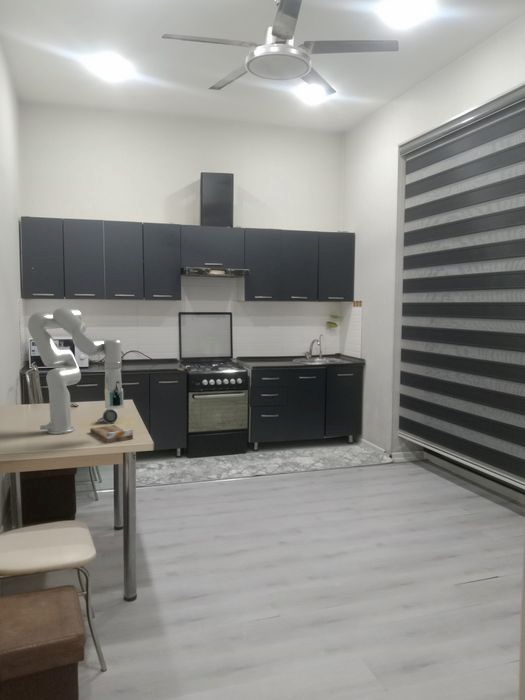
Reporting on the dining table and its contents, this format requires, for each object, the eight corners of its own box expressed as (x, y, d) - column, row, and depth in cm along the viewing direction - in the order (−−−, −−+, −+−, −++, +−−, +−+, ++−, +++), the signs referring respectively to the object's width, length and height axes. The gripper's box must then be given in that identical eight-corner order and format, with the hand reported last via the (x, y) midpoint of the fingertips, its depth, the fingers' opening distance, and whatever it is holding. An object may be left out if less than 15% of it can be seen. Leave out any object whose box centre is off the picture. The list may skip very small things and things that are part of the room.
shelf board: (107, 443, 231) (107, 433, 231) (90, 432, 251) (90, 423, 250) (133, 439, 239) (132, 429, 238) (114, 429, 258) (114, 420, 258)
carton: (105, 407, 239) (104, 388, 239) (119, 406, 244) (119, 387, 243) (109, 409, 235) (108, 390, 235) (123, 407, 240) (123, 388, 239)
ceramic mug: (118, 419, 279) (118, 405, 278) (117, 423, 271) (117, 408, 270) (98, 421, 277) (97, 407, 276) (97, 424, 269) (96, 410, 268)
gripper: (99, 365, 242) (100, 402, 244) (111, 368, 229) (113, 408, 230) (114, 363, 247) (115, 401, 248) (128, 367, 233) (129, 406, 235)
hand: (114, 404), depth 239 cm, fingers closed on carton, 5 cm apart
